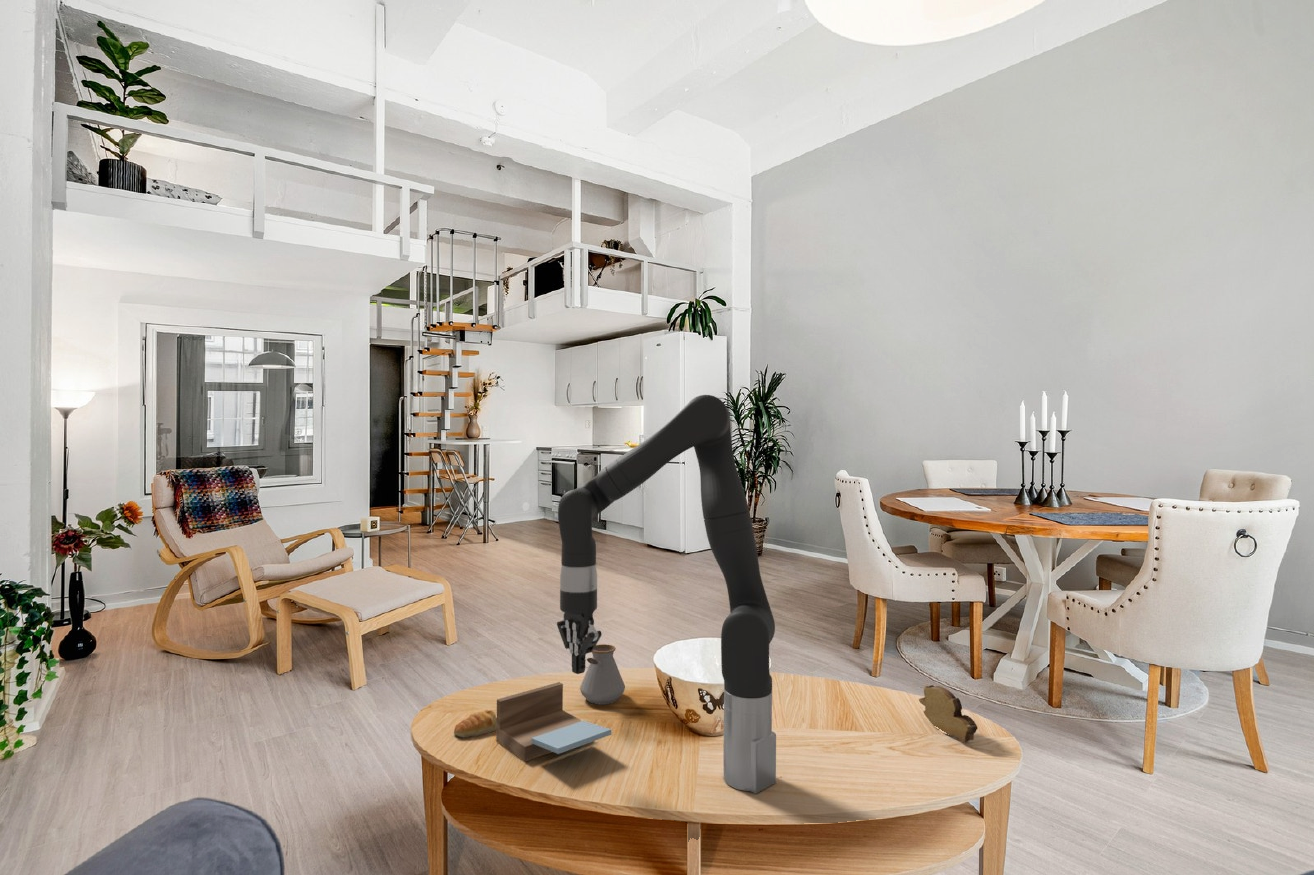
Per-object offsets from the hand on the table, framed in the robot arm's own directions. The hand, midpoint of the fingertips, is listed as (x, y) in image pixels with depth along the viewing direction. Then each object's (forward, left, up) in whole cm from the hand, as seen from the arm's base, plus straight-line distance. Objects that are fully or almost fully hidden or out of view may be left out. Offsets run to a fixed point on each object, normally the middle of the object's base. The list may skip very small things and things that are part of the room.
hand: (578, 672), depth 130 cm
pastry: (+27, +8, -19) cm, 34 cm away
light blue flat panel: (+7, 0, -15) cm, 16 cm away
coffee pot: (+20, -20, -18) cm, 34 cm away
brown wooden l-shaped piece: (+13, 0, -18) cm, 22 cm away
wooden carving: (-43, -71, -18) cm, 85 cm away
